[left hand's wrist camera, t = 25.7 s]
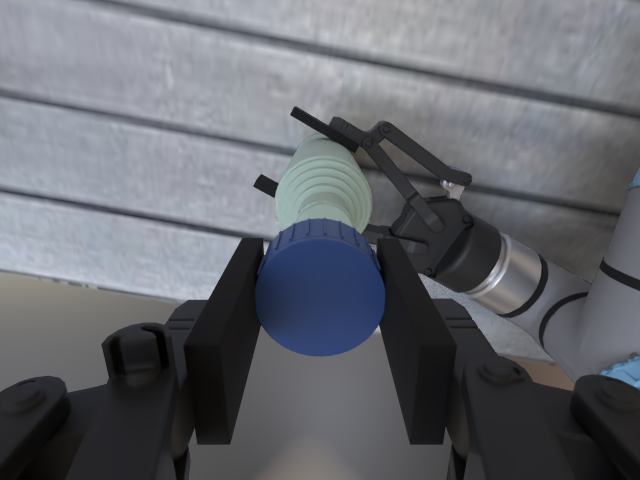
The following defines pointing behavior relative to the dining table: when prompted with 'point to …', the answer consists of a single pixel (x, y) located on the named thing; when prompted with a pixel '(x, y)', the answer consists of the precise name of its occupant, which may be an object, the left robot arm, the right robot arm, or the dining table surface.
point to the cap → (319, 288)
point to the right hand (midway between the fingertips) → (275, 146)
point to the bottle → (323, 186)
